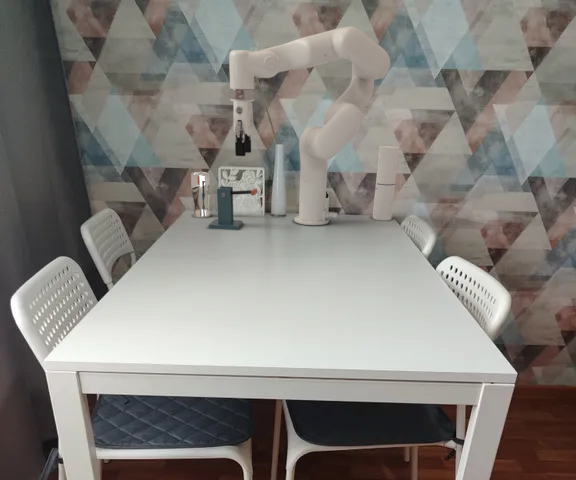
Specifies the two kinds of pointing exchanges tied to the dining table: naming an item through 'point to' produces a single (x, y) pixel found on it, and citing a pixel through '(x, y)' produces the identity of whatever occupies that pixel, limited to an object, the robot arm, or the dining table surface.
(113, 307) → the dining table surface
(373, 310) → the dining table surface
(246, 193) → the lever
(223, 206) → the bracket
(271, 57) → the robot arm
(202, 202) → the metal tumbler
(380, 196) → the cylindrical container
